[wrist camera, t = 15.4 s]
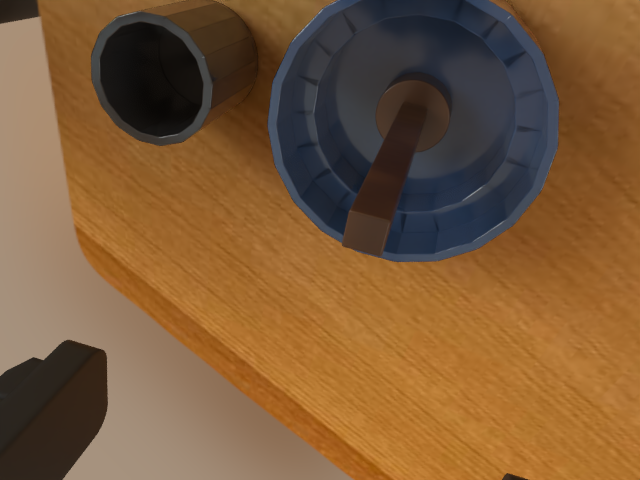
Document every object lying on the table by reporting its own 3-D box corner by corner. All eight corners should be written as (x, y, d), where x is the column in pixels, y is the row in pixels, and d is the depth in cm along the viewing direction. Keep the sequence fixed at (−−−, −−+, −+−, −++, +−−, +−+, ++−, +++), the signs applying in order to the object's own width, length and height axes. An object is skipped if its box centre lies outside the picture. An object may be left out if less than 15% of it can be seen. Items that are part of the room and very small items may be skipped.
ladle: (374, 132, 35) (297, 268, 21) (389, 64, 33) (317, 163, 19) (440, 149, 35) (409, 300, 20) (460, 81, 33) (442, 195, 18)
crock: (154, 98, 38) (92, 129, 32) (157, -12, 35) (89, -1, 29) (252, 121, 37) (207, 158, 31) (264, 11, 34) (216, 27, 28)
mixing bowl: (285, 186, 39) (254, 225, 34) (320, -51, 32) (288, -49, 27) (501, 240, 37) (504, 291, 32) (587, 1, 30) (608, 15, 25)
